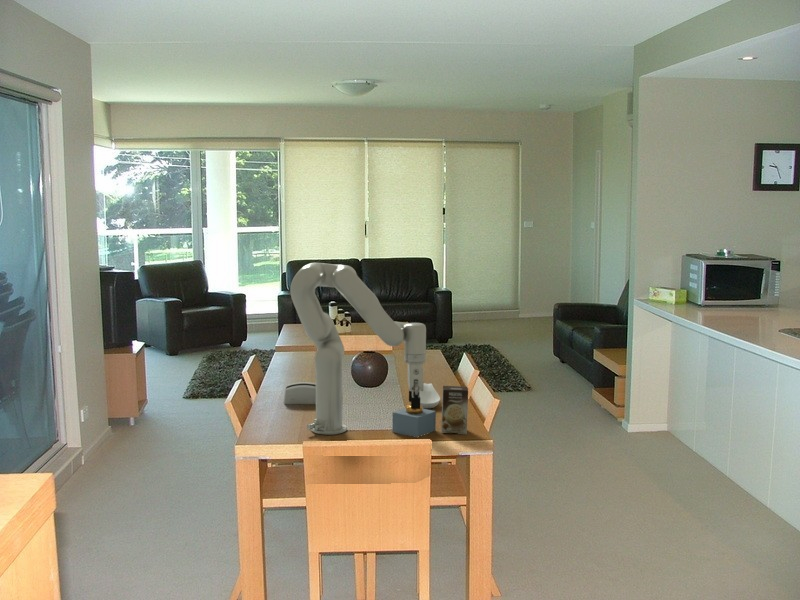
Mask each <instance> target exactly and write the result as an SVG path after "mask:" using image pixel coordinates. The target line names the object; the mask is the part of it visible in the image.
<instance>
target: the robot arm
mask: <svg viewBox="0 0 800 600" xmlns="http://www.w3.org/2000/svg"><path fill="white" fill-rule="evenodd" d="M318 287H326V288H335V289H336V291H338V292H339V293H340V294H341V296H342V297H343V298H344V299H345V300H346V301H347V302H348V303H349V304H350V305H351V307H353V308H354V310H355V311H356V312H357V313H358V314H359V316H360V317H361V318H362V319H363V320H364V322H365V323H366V325H368V326H369V327H370V329H371V330H372V331H373V332H374V333H375V334H376V336H378V338H379V339H380V340H381V341H382V342H383V343H384V344H385V345H387V346H389V347H398V346H399V345H401V344H403V343H404V353H403V354H404V358H403V359H404V363H406V364H407V385H408V389H409V390H408V402H409V403H410V404H411V409H420V390H421V391H423V384H424V364H425V363H426V361H427V353H426V352H427V348H426V347H427V327H426V324H424V323H422V322H402V321H394V319H392V318H391V316H390V315H389V314H388V313H387V312H386V310H384V308H383V306H382V305H381V302H380V301H379V299H378V297H377V296H376V294H375V293H374V292H373V291H372V290H371V289H370V288H369V287H368V286H367V285H366V284H365V282H364V281H363V280H362V279H361V278H360V277H359V275H358V274H357V272H356V270H355V268H353V267H352V266H350V265H346V264H332V263H324V262H310V263H307V264H305V265H303V266H302V267H301V268H300V269H299V270H298V271H297V272H296V274H295V275H294V276H293V279H292V281H291V283H290V288H289V289H290V290H289V291H290V296H291V297H290V298H291V300H292V304H293V306H294V308H295V310H296V313H297V315H298V318H299V322H300V323H301V325H302V328H303V330H304V333H305V335H306V337H307V338H308V339H309V340H311V341H312V342H313V343H314V346H315V348H316V352H315V354H314V355H315V356H314V373H315V383H316V404H315V418H314V419H313V422H312V423H309V424H307V425H306V429H307V430H308V431H310V430H311V431H312V433H315V434H318V435H325V436H327V435H329V436H330V435H331V436H332V435H339V434H342V433H345V432H346V431H347V430H348V426H347V425H346V424H344V423H343V360H344V357H345V353H346V352H345V346H344V344H343V341H342V338H341V337H340V334H339V332H338V329H337V328H336V327H337V326H336V325H335V323H334V320H333V319H332V317H331V316H330V315H329V314H328V313H326V312H325V311H324V310H323V308H322V306H321V304H320V301H319V298H318V297H317V294H316V289H317V288H318ZM402 342H403V343H402Z"/></svg>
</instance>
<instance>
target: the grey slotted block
mask: <svg viewBox="0 0 800 600" xmlns="http://www.w3.org/2000/svg"><path fill="white" fill-rule="evenodd" d="M284 391H285V392H284V399H283V404H284V405H316V382H311V381H310V382H309V381H308V382H307V381H304V382H303V381H301V382H293V383H289V384H287V385H286V386H285V390H284Z"/></svg>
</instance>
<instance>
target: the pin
mask: <svg viewBox="0 0 800 600" xmlns="http://www.w3.org/2000/svg"><path fill="white" fill-rule="evenodd" d="M405 408H406V412H407V413H409V414H420V413H422V412H423V406H422V405H420V409H411V403H410V404H407V405H405Z"/></svg>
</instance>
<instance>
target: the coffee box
mask: <svg viewBox="0 0 800 600" xmlns="http://www.w3.org/2000/svg"><path fill="white" fill-rule="evenodd" d="M468 403H469V388H468V386H460V385H459V386H458V385H442V402H441V405H442V406H441V422H440V423H441V425H440V426H441V428H440V431H441V434H443V433H458V434H457V435H467V434H468V409H469V407H468V406H469V404H468Z"/></svg>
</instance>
